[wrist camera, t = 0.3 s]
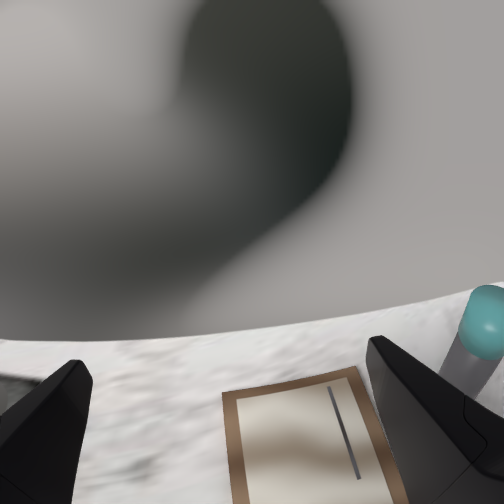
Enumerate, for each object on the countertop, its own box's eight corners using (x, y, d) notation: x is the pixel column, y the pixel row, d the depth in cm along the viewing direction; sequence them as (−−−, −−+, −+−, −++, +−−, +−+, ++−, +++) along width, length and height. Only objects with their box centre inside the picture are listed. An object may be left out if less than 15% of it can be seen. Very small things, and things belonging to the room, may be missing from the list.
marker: (469, 418, 19) (535, 318, 12) (431, 437, 19) (496, 340, 12) (448, 381, 23) (497, 277, 16) (411, 396, 22) (455, 291, 16)
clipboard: (415, 526, 13) (420, 524, 12) (243, 569, 12) (241, 570, 12) (354, 369, 26) (356, 362, 26) (223, 396, 26) (220, 389, 25)
